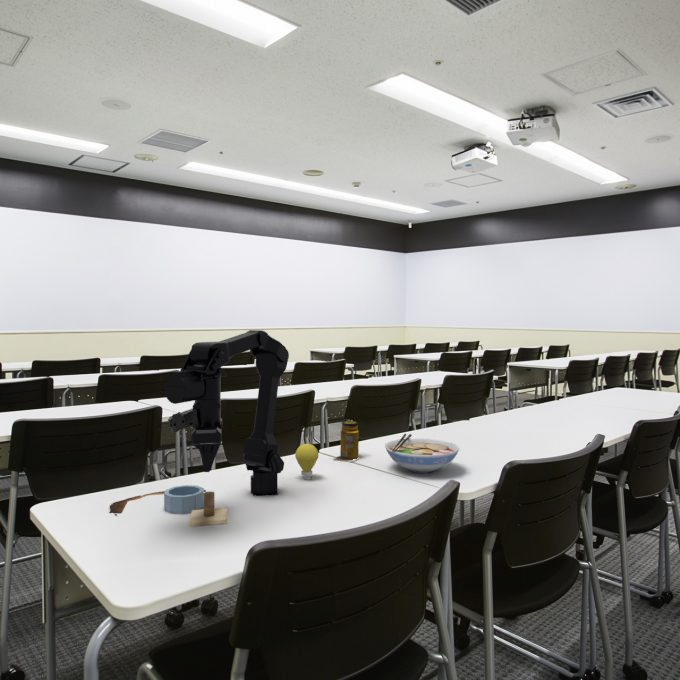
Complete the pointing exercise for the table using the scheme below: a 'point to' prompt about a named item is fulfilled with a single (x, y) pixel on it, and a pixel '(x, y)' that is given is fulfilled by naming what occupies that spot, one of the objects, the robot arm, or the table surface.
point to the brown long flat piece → (120, 505)
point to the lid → (208, 513)
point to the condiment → (349, 442)
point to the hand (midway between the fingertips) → (207, 466)
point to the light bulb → (306, 459)
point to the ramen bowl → (421, 453)
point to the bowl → (183, 499)
